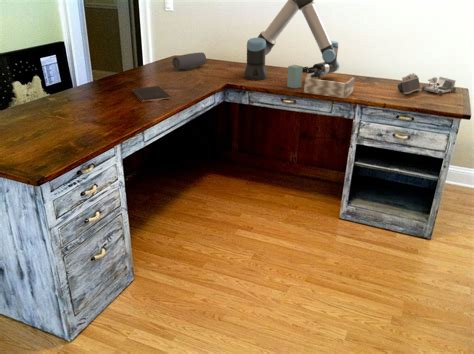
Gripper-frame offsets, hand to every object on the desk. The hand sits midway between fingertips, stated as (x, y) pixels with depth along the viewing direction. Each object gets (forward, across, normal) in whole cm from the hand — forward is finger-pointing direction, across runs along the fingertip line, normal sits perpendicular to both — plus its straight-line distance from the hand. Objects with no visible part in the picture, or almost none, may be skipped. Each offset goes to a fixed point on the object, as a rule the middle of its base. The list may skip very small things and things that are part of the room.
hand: (297, 74), depth 257 cm
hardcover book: (+77, +40, -8) cm, 87 cm away
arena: (-4, -20, -7) cm, 21 cm away
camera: (-39, -50, -7) cm, 63 cm away
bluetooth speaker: (+21, +78, -7) cm, 81 cm away
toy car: (-53, -61, -8) cm, 81 cm away
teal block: (+2, +1, -7) cm, 7 cm away
